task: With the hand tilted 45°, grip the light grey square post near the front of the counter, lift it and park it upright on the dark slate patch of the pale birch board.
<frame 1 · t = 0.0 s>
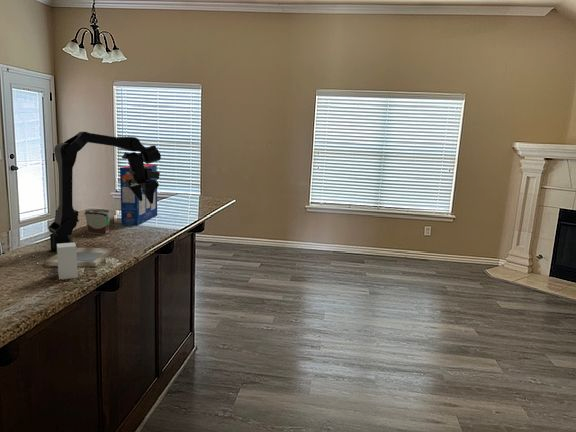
hand: (146, 202, 180), 15 cm above the countertop, tool pointing down, fingers open, 9 cm apart
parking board: (81, 258, 148), on the countertop
pasta box: (140, 220, 218), on the countertop
food container: (101, 232, 188), on the countertop
grey post: (68, 276, 130), on the countertop
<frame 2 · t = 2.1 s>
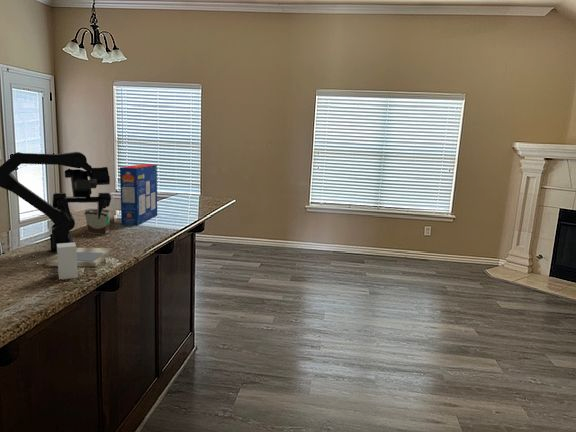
hand: (84, 219, 148), 14 cm above the countertop, tool tilted 45°, fingers open, 9 cm apart
nothing on the countertop moved.
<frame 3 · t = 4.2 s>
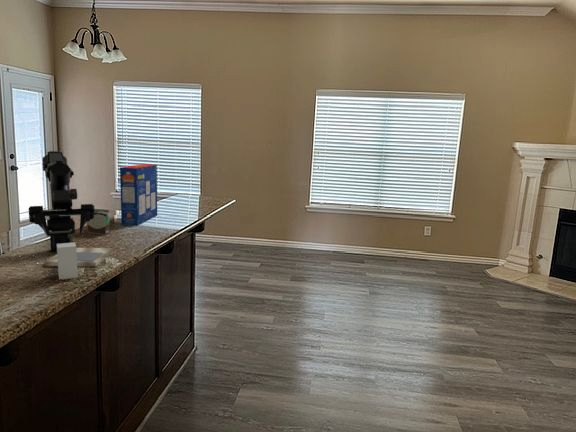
hand: (64, 234, 133), 12 cm above the countertop, tool tilted 45°, fingers open, 9 cm apart
nothing on the countertop moved.
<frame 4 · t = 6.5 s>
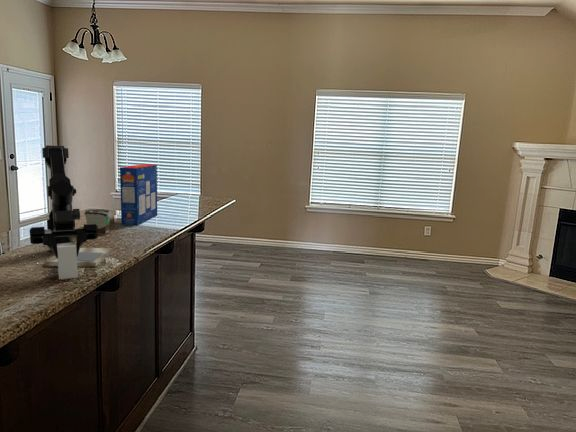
hand: (67, 256, 128), 7 cm above the countertop, tool tilted 45°, fingers closed on grey post, 5 cm apart
grey post: (68, 276, 130), on the countertop, touching gripper
everything else where it was.
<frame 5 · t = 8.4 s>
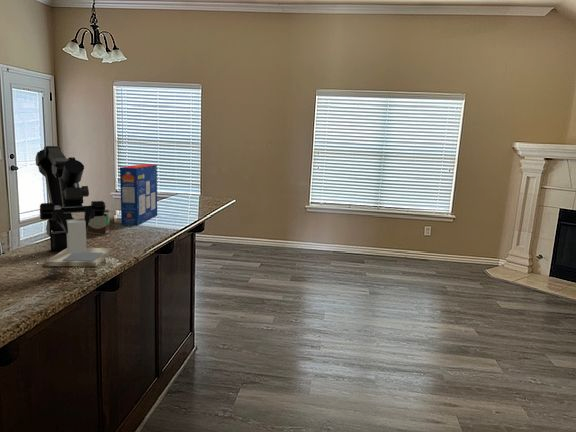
hand: (76, 232, 132), 13 cm above the countertop, tool tilted 45°, fingers closed on grey post, 5 cm apart
grey post: (77, 250, 135), point 6 cm above the countertop, touching gripper
everything else where it was.
when the fingers open (9 cm above the countertop, at t = 10.5 s): grey post drops 1 cm, resting on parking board.
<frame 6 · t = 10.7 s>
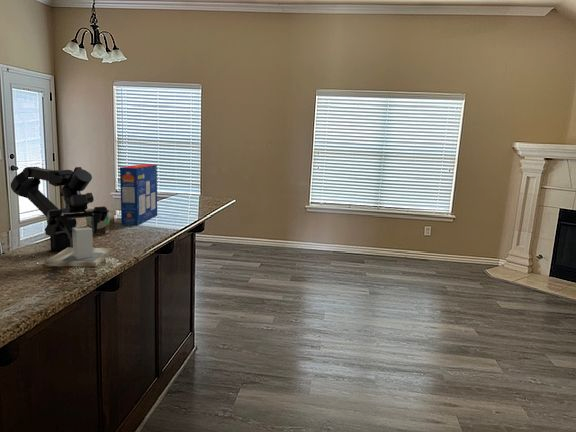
hand: (83, 235, 143), 9 cm above the countertop, tool tilted 45°, fingers open, 7 cm apart
grey post: (83, 256, 145), point 2 cm above the countertop, touching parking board
everything else where it was.
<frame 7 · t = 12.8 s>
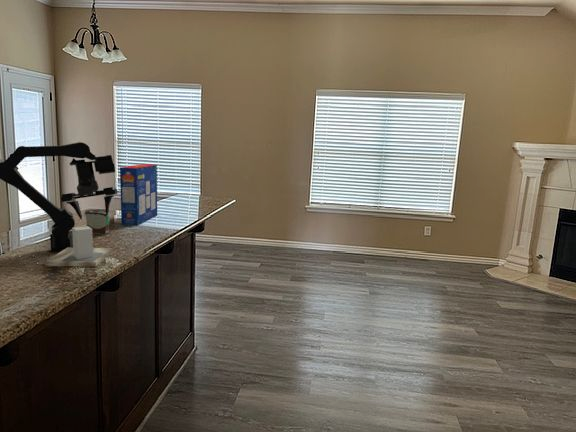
hand: (94, 216, 158), 13 cm above the countertop, tool pointing down, fingers open, 9 cm apart
nothing on the countertop moved.
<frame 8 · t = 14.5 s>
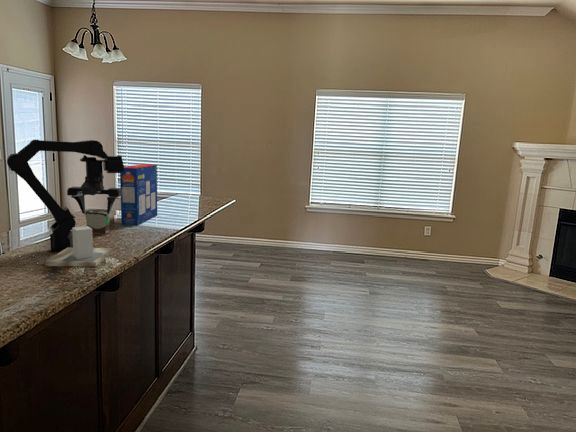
hand: (96, 213, 162), 13 cm above the countertop, tool pointing down, fingers open, 9 cm apart
nothing on the countertop moved.
at the end: grey post inside the target area on the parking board (0.0 cm from its centre), point 1.7 cm above the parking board's base; grey post tilted 0°; the gripper is holding nothing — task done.
